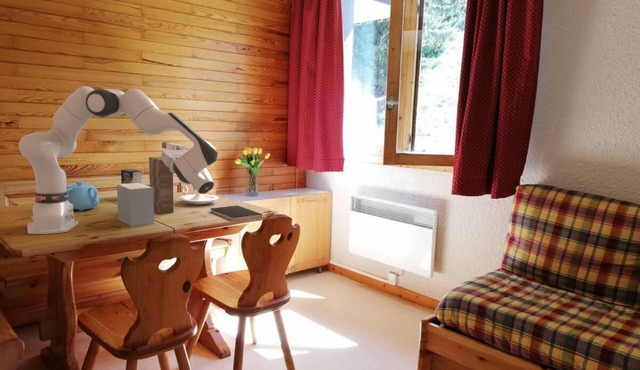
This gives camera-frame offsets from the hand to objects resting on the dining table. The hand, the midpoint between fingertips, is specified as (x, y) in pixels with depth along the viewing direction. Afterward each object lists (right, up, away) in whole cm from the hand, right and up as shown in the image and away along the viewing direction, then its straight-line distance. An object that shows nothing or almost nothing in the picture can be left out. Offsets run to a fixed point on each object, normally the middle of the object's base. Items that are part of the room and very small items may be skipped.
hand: (179, 146), depth 207 cm
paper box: (-20, -33, +2) cm, 38 cm away
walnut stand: (-16, -30, +24) cm, 42 cm away
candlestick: (-5, -27, +48) cm, 55 cm away
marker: (-4, -1, +4) cm, 6 cm away
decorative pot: (-55, -29, +23) cm, 66 cm away
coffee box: (-42, -25, +52) cm, 71 cm away
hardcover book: (+21, -32, +23) cm, 45 cm away
